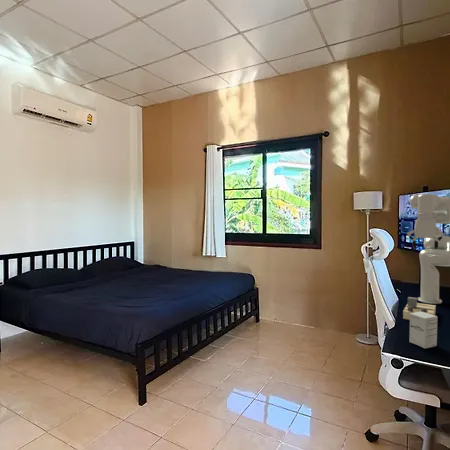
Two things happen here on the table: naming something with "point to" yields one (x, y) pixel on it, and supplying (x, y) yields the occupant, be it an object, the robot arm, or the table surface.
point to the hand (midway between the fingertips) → (425, 248)
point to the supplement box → (423, 329)
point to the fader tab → (412, 302)
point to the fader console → (419, 310)
